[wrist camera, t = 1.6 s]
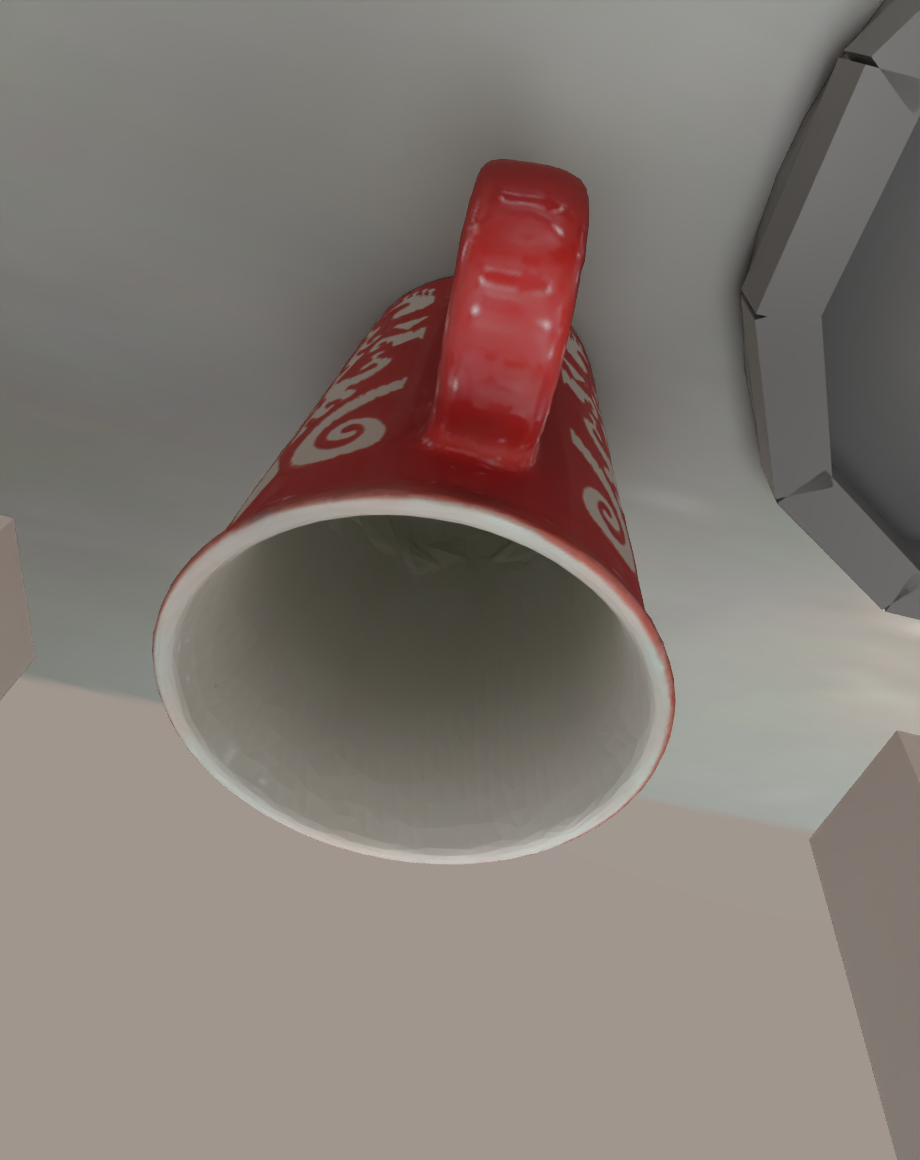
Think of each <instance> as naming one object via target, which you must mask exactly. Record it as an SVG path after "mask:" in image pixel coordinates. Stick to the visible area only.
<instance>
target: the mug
mask: <svg viewBox="0 0 920 1160" xmlns="http://www.w3.org/2000/svg"><path fill="white" fill-rule="evenodd" d="M588 227H589V198H588V194H587V190H586V187H585V185H584V184H583V182H582V181H581V180H580V179H579V178H577V177H576V176H574V175H572V174H571V173H569V172H568V171H565V170H562V169H559V168H556V167H553V166H549V165H543V164H537V163H531V162H524V161H516V160H508V159H499V160H492V161H489V162H488V163H486V164H485V165H484V166H483V167H482V168H481V170H480V172H479V174H478V177H477V179H476V182H475V185H474V189H473V192H472V195H471V198H470V201H469V206H468V210H467V214H466V218H465V222H464V226H463V229H462V233H461V238H460V243H459V250H458V256H457V262H456V268H455V273H454V277H448V278H444V279H440V280H436V281H433V282H430V283H427V284H425V285H423V286H421V287H418V288H416V289H414V290H412V291H410V292H409V293H407V294H405V295H404V296H402V297H401V298H400V299H399V300H397V301H396V302H395V303H394V304H393V305H391V306H390V307H389V308H388V309H387V310H386V311H385V312H384V314H383V315H382V316H381V317H380V318H379V319H378V321H377V322H376V323H375V324H374V326H373V327H372V328H371V330H370V331H369V332H368V334H367V336H366V337H365V338H364V339H363V340H362V341H361V343H360V344H359V346H358V348H357V350H356V351H355V352H354V354H353V355H352V357H351V358H350V359H349V360H348V362H347V363H346V365H345V366H344V367H343V369H342V370H341V371H340V373H339V374H338V376H337V377H336V379H335V380H334V381H333V383H332V384H331V385H330V387H329V388H328V390H327V391H326V392H325V394H324V395H323V397H322V398H321V399H320V401H319V402H318V404H317V405H316V406H315V408H314V409H313V411H312V412H311V413H310V415H309V416H308V418H307V419H306V420H305V422H304V423H303V424H302V425H301V427H300V428H299V430H298V431H297V433H296V434H295V436H294V437H293V438H292V440H291V441H290V442H289V443H288V444H287V446H286V447H285V448H284V449H283V450H282V452H281V453H280V455H279V456H278V458H277V459H276V461H275V462H274V463H273V465H272V466H271V468H270V469H269V470H268V472H267V473H266V474H265V476H264V477H263V478H262V480H261V481H260V482H259V484H258V485H257V486H256V488H255V489H254V490H253V492H252V493H251V495H250V496H249V497H248V499H247V500H246V502H245V503H244V505H243V506H242V508H241V509H240V510H239V512H238V513H237V515H236V516H235V518H234V519H233V520H232V522H231V523H230V524H229V526H228V527H227V528H226V530H225V531H224V532H222V533H221V534H219V535H217V536H216V537H215V538H214V539H212V540H211V541H210V542H209V543H208V544H206V545H205V546H204V547H203V548H202V549H201V550H200V551H199V552H198V553H196V554H195V555H194V556H193V557H192V558H191V559H190V561H189V562H188V563H187V564H186V565H185V567H184V568H183V569H182V570H181V571H180V573H179V574H178V575H177V577H176V578H175V580H174V581H173V583H172V584H171V587H170V589H169V591H168V593H167V595H166V597H165V599H164V601H163V603H162V605H161V608H160V611H159V614H158V618H157V622H156V626H155V629H154V633H153V646H152V652H153V663H154V673H155V678H156V683H157V687H158V691H159V694H160V697H161V699H162V702H163V704H164V707H165V709H166V712H167V714H168V716H169V718H170V721H171V723H172V724H173V726H174V728H175V730H176V732H177V733H178V735H179V737H180V738H181V739H182V741H183V742H184V743H185V745H186V746H187V747H188V749H189V750H190V752H191V753H192V754H193V755H194V756H195V757H196V759H197V760H198V761H199V762H200V763H201V764H202V765H203V766H204V767H205V768H206V770H207V771H208V772H209V773H210V774H211V775H212V776H213V777H214V778H215V779H217V781H219V782H220V783H221V784H222V785H224V786H225V787H226V788H227V789H229V790H230V791H231V792H233V793H234V794H235V795H237V796H238V797H239V798H241V799H242V800H243V801H245V802H246V803H248V804H249V805H251V806H252V807H254V808H255V809H257V810H258V811H260V812H262V813H263V814H265V815H266V816H268V817H270V818H272V819H274V820H276V821H278V822H280V823H281V824H284V825H285V826H287V827H289V828H291V829H293V830H296V831H297V832H299V833H302V834H304V835H306V836H309V837H311V838H314V839H316V840H319V841H321V842H324V843H326V844H329V845H333V846H336V847H339V848H342V849H345V850H349V851H353V852H356V853H361V854H365V855H369V856H374V857H380V858H386V859H392V860H398V861H406V862H413V863H422V864H477V863H486V862H494V861H501V860H507V859H513V858H518V857H523V856H527V855H531V854H535V853H538V852H541V851H544V850H547V849H550V848H552V847H555V846H558V845H561V844H564V843H566V842H569V841H571V840H573V839H575V838H578V837H580V836H582V835H583V834H585V833H587V832H589V831H590V830H592V829H594V828H596V827H598V826H599V825H601V824H602V823H603V822H605V821H606V820H608V819H609V818H611V817H612V816H614V815H615V814H616V813H617V812H619V811H620V810H621V809H622V808H623V807H625V806H626V805H627V804H628V803H629V802H630V801H631V800H632V799H633V798H634V797H635V796H636V795H637V794H638V793H639V792H640V791H641V790H642V789H643V787H644V786H645V784H646V783H647V782H648V780H649V779H650V778H651V776H652V774H653V773H654V771H655V770H656V768H657V765H658V763H659V761H660V759H661V757H662V756H663V754H664V752H665V749H666V746H667V744H668V741H669V738H670V735H671V730H672V725H673V720H674V712H675V692H674V678H673V674H672V670H671V665H670V662H669V659H668V656H667V654H666V650H665V647H664V644H663V641H662V639H661V638H660V636H659V634H658V632H657V630H656V628H655V626H654V624H653V622H652V620H651V618H650V617H649V615H648V614H647V613H646V611H645V608H644V604H643V599H642V595H641V590H640V586H639V581H638V576H637V570H636V564H635V560H634V555H633V551H632V546H631V542H630V538H629V535H628V531H627V527H626V521H625V516H624V513H623V511H622V508H621V504H620V500H619V495H618V490H617V485H616V481H615V477H614V473H613V468H612V463H611V458H610V453H609V448H608V444H607V439H606V435H605V430H604V426H603V421H602V417H601V412H600V409H599V403H598V398H597V394H596V389H595V383H594V379H593V375H592V371H591V366H590V363H589V360H588V357H587V354H586V352H585V350H584V347H583V345H582V343H581V341H580V339H579V338H578V336H577V334H576V333H575V331H574V330H573V328H572V327H571V323H572V318H573V313H574V308H575V303H576V298H577V292H578V286H579V282H580V274H581V270H582V267H583V264H584V261H585V251H586V242H587V235H588Z"/></svg>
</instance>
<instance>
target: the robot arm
mask: <svg viewBox="0 0 920 1160" xmlns="http://www.w3.org/2000/svg"><path fill="white" fill-rule="evenodd" d="M34 659H35V652H34V645H33V639H32V632H31V626H30V620H29V613H28V607H27V601H26V594H25V588H24V581H23V575H22V569H21V562H20V556H19V549H18V543H17V537H16V530H15V524H14V518H10V517H6V516H2V515H0V700H1V699H2V698H3V696H4V695H5V694H6V693H7V692H8V690H9V689H10V688H11V687H12V685H13V684H14V683H15V682H16V681H17V679H18V678H19V677H20V676H21V675H22V673H23V672H24V671H25V670H26V668H27V667H28V666H29V665H30V664H31V662H32V661H33V660H34ZM810 844H811V847H812V851H813V855H814V858H815V862H816V866H817V869H818V873H819V877H820V880H821V884H822V887H823V891H824V895H825V899H826V902H827V906H828V910H829V913H830V917H831V920H832V924H833V928H834V931H835V935H836V939H837V942H838V946H839V949H840V953H841V957H842V960H843V964H844V967H845V971H846V975H847V979H848V982H849V986H850V990H851V993H852V997H853V1000H854V1004H855V1008H856V1011H857V1015H858V1019H859V1022H860V1026H861V1030H862V1033H863V1037H864V1041H865V1044H866V1048H867V1051H868V1055H869V1058H870V1062H871V1066H872V1070H873V1073H874V1077H875V1081H876V1084H877V1088H878V1091H879V1095H880V1099H881V1102H882V1106H883V1109H884V1113H885V1117H886V1121H887V1124H888V1128H889V1131H890V1135H891V1138H892V1142H893V1145H894V1150H895V1153H896V1156H897V1160H920V736H918V735H914V734H910V733H905V732H901V731H896V732H895V734H894V735H893V736H892V737H891V739H890V740H889V741H888V742H887V743H886V745H885V746H884V747H883V748H882V750H881V751H880V752H879V753H878V755H877V756H876V757H875V758H874V760H873V761H872V762H871V763H870V765H869V766H868V767H867V768H866V770H865V771H864V772H863V773H862V775H861V776H860V777H859V778H858V780H857V781H856V782H855V783H854V784H853V786H852V787H851V788H850V789H849V791H848V792H847V793H846V794H845V796H844V797H843V798H842V799H841V801H840V802H839V803H838V804H837V806H836V807H835V808H834V809H833V811H832V812H831V813H830V814H829V816H828V817H827V818H826V819H825V821H824V822H823V823H822V824H821V825H820V827H819V828H818V829H817V830H816V832H815V833H814V834H813V835H812V837H811V838H810Z"/></svg>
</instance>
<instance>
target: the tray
mask: <svg viewBox="0 0 920 1160" xmlns="http://www.w3.org/2000/svg"><path fill="white" fill-rule="evenodd" d="M844 52H845V54H844V55H843V56H842V58H838V60H837V62H836V65H835V67H834V70H833V72H832V74H831V75H830V77H829V78H828V80H827V82H826V83H825V85H824V87H823V88H822V90H821V92H820V93H819V95H818V96H817V98H816V100H815V101H814V103H813V105H812V106H811V108H810V110H809V111H808V113H807V114H806V116H805V118H804V120H803V122H802V124H801V126H800V128H799V130H798V132H797V134H796V137H795V139H794V141H793V143H792V145H791V147H790V149H789V151H788V153H787V155H786V157H785V160H784V162H783V164H782V166H781V168H780V170H779V172H778V174H777V177H776V180H775V183H774V185H773V188H772V191H771V194H770V197H769V200H768V203H767V206H766V208H765V211H764V214H763V217H762V220H761V223H760V226H759V229H758V233H757V237H756V242H755V246H754V251H753V255H752V260H751V264H750V269H749V272H748V274H747V277H746V279H745V281H744V284H743V286H742V288H741V289H742V291H743V293H744V294H742V295H740V296H741V304H742V312H743V343H744V363H745V374H746V379H747V384H748V389H749V394H750V399H751V404H752V409H753V413H754V415H755V419H756V427H757V436H758V444H759V452H760V460H761V466H762V468H763V471H764V473H765V476H766V478H767V480H768V483H769V485H770V488H771V490H772V493H773V495H774V497H775V499H776V502H777V504H778V505H779V506H780V507H781V508H782V509H783V510H784V511H785V512H786V513H787V514H788V515H789V516H790V517H791V518H792V519H793V520H794V521H795V522H796V523H797V524H798V525H799V526H800V527H801V528H802V529H803V530H804V531H805V532H806V533H807V534H808V535H809V536H810V537H811V538H812V539H813V540H814V541H815V542H816V543H817V544H818V545H819V546H820V547H821V548H822V549H823V550H824V551H825V552H826V553H827V554H828V555H829V556H830V557H831V558H832V559H833V560H834V561H835V562H836V563H837V564H838V566H839V567H840V568H841V569H842V570H843V571H844V572H845V573H846V574H847V575H848V576H849V577H850V578H851V579H852V580H853V581H854V582H855V583H856V584H857V585H858V586H859V587H860V588H861V589H862V590H863V591H864V592H865V593H866V594H867V595H868V596H869V597H870V598H871V599H872V600H873V601H874V602H875V603H876V604H877V605H878V606H879V607H880V608H881V609H885V611H886V612H889V613H894V614H898V615H902V616H906V617H911V618H915V619H919V620H920V0H885V1H884V2H883V3H882V5H881V6H880V7H879V9H878V10H877V11H876V13H875V14H874V15H873V16H872V18H871V19H870V20H869V22H868V23H867V24H866V26H865V27H864V28H863V30H862V31H861V32H860V34H859V35H858V36H857V38H856V39H854V40H853V41H852V42H851V43H850V44H849V45H848V46H847V47H846V48H845V49H844Z"/></svg>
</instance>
